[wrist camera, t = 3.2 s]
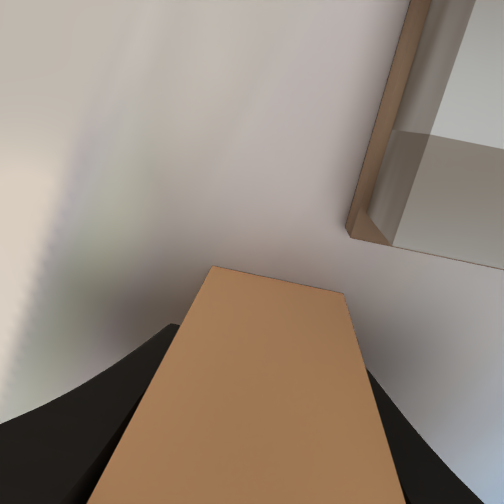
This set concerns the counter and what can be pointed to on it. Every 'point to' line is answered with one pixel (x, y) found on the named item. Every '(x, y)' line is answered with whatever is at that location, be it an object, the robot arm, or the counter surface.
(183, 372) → the peg
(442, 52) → the socket block
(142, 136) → the counter surface
